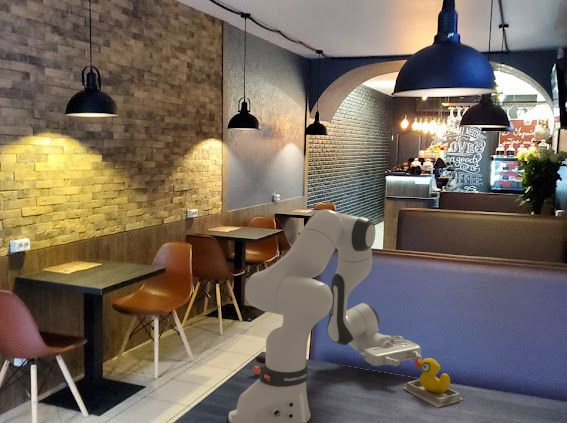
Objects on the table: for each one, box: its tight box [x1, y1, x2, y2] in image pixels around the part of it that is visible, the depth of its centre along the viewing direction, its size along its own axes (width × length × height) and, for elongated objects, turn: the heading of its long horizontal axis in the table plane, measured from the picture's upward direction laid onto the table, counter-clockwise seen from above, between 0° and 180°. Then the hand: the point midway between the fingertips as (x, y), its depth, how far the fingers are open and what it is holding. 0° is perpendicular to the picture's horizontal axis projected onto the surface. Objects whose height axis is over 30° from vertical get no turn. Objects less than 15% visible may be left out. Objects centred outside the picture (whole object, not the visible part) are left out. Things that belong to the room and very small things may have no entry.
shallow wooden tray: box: [402, 379, 464, 408], centre depth 169 cm, size 10×14×2 cm
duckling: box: [414, 357, 451, 393], centre depth 170 cm, size 11×5×10 cm, turn 48°
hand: (409, 361), depth 178 cm, fingers open, 8 cm apart
